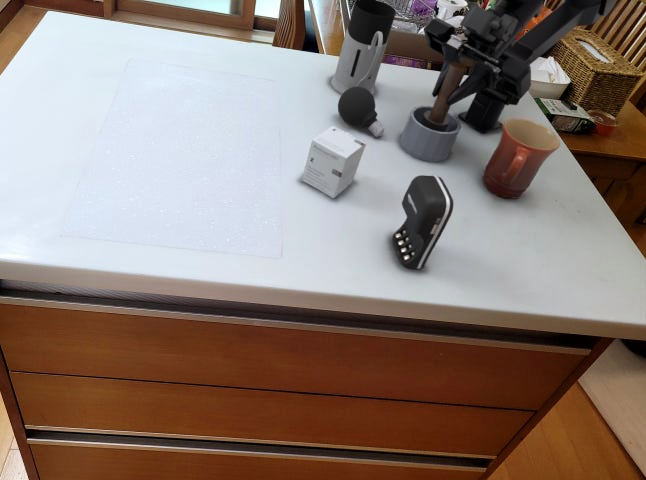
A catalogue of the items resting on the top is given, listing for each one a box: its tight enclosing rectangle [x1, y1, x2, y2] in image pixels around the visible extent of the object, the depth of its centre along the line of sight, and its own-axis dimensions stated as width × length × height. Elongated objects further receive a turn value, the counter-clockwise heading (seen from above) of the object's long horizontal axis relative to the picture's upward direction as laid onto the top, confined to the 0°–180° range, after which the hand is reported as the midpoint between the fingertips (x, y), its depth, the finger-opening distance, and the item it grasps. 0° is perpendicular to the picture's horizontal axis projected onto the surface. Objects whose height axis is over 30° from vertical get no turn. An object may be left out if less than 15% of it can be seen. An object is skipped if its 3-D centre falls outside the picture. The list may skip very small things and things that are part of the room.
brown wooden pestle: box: [420, 62, 467, 132], centre depth 89 cm, size 4×4×12 cm
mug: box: [481, 117, 561, 199], centre depth 86 cm, size 12×9×10 cm
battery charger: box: [391, 174, 454, 269], centre depth 71 cm, size 7×4×11 cm, turn 7°
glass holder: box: [330, 0, 397, 96], centre depth 100 cm, size 9×14×15 cm, turn 2°
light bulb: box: [337, 87, 386, 138], centre depth 95 cm, size 6×6×10 cm
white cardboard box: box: [301, 125, 367, 199], centre depth 81 cm, size 6×6×7 cm
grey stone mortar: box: [399, 105, 462, 163], centre depth 94 cm, size 9×9×6 cm
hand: (440, 99), depth 88 cm, fingers closed on brown wooden pestle, 2 cm apart
